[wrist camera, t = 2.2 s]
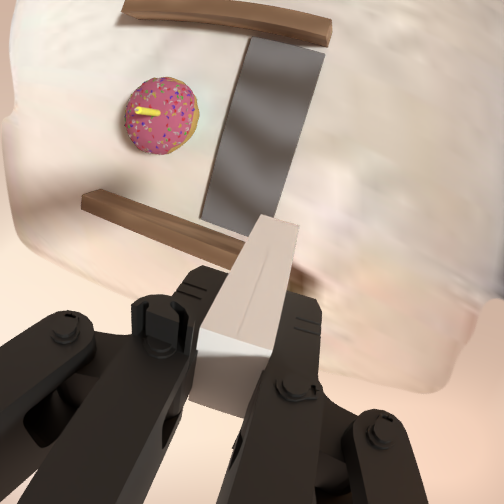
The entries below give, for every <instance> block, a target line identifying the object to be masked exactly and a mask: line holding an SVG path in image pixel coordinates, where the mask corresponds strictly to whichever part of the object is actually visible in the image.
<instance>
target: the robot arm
mask: <svg viewBox="0 0 504 504" xmlns="http://www.w3.org/2000/svg"><path fill="white" fill-rule="evenodd" d="M298 231H299V225H295V224H292V223H289V222H286V221H282V220H279V219H276V218H272V217H269V216H266V215H262V214H261V215H260V217H259V218H258V220H257V222H256V224H255V226H254V228H253V230H252V231H251V233H250V235H249V237H248V239H247V241H246V242H245V244H244V246H243V248H242V250H241V252H240V254H239V255H238V257H237V259H236V261H235V263H234V265H233V266H232V268H231V270H230V272H229V274H228V273H225V272H222V271H219V270H216V269H213V268H210V267H207V266H203V265H202V266H200V267H198V268H196V269H194V270H192V271H190V272H189V273H188V275H187V276H186V277H185V279H184V280H183V282H182V284H180V286H179V287H178V288H177V290H176V292H174V294H173V295H172V296H168V295H163V294H158V295H148V296H145V297H141V298H139V299H138V300H136V301H135V302H134V303H133V304H131V321H132V334H130V335H115V334H109V333H102V332H97V331H94V328H93V324H92V322H91V321H90V320H89V319H88V317H87V316H85V315H83V314H81V313H79V312H75V311H69V310H67V311H58V312H56V313H53V314H51V315H49V316H47V317H46V318H44V319H42V320H41V321H39V322H38V323H36V324H34V325H33V326H31V327H30V328H28V329H27V330H25V331H23V332H22V333H20V334H19V335H17V336H16V337H14V338H13V339H11V340H10V341H8V342H7V343H5V344H4V345H2V346H1V347H0V502H1V501H2V500H3V499H4V498H5V497H7V496H8V495H9V494H10V493H11V492H12V491H13V490H15V489H16V488H17V487H18V486H19V485H20V484H21V483H23V482H24V481H25V480H26V479H27V478H28V477H29V476H31V475H32V474H33V473H34V472H35V471H36V470H37V469H38V468H39V469H38V470H37V472H36V474H35V475H34V477H33V478H32V480H31V481H30V483H29V485H28V486H27V488H26V490H25V491H24V493H23V494H22V496H21V498H20V499H19V501H18V503H17V504H143V502H144V500H145V498H146V496H147V493H148V491H149V489H150V487H151V484H152V482H153V480H154V478H155V475H156V473H157V471H158V469H159V467H160V464H161V462H162V460H163V458H164V455H165V453H166V451H167V449H168V447H169V444H170V442H171V440H172V438H173V435H174V433H175V431H176V429H177V426H178V424H179V422H180V420H181V417H182V411H183V406H184V404H185V402H186V400H187V397H188V395H189V399H188V400H189V401H192V402H195V403H198V404H200V405H203V406H206V407H209V408H212V409H215V410H218V411H221V412H224V413H227V414H231V415H234V416H237V417H240V418H244V421H243V424H242V427H241V429H240V432H239V434H238V436H237V438H236V440H235V443H234V445H233V447H232V449H233V452H232V455H231V458H230V462H229V465H228V468H227V471H226V474H225V478H224V481H223V484H222V487H221V490H220V493H219V496H218V499H217V502H216V504H428V500H427V496H426V493H425V490H424V486H423V482H422V479H421V476H420V473H419V469H418V466H417V463H416V460H415V457H414V453H413V450H412V447H411V444H410V441H409V438H408V435H407V432H406V430H405V428H404V427H403V424H402V423H401V422H400V421H399V420H398V419H397V418H396V417H395V416H394V415H392V414H390V413H388V412H386V411H384V410H377V409H371V410H367V411H364V412H363V413H361V414H360V415H359V416H357V415H355V414H353V413H351V412H349V411H347V410H345V409H343V408H341V407H339V406H338V405H337V404H335V403H334V402H332V401H331V400H330V399H329V398H328V397H327V396H326V395H325V394H324V392H323V387H322V385H321V384H320V382H319V380H318V368H319V354H320V339H321V336H320V335H321V322H322V311H321V309H320V307H319V304H318V302H317V300H316V299H313V298H310V297H307V296H303V295H300V294H297V293H293V292H290V291H287V290H286V289H287V285H288V280H289V275H290V271H291V266H292V261H293V256H294V251H295V246H296V241H297V236H298Z"/></svg>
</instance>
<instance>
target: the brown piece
mask: <svg viewBox="0 0 504 504" xmlns="http://www.w3.org/2000/svg"><path fill="white" fill-rule="evenodd" d="M121 12H122V13H125V14H127V15H129V16H132V17H134V18H137V19H139V20H173V21H188V22H200V23H209V24H218V25H226V26H233V27H239V28H245V29H251V30H257V31H262V32H267V33H272V34H277V35H282V36H286V37H290V38H295V39H299V40H303V41H307V42H310V43H314V44H318V45H321V46H325V47H328V45H329V42H330V38H331V35H332V20H331V19H328V18H324V17H320V16H316V15H312V14H308V13H304V12H299V11H295V10H290V9H285V8H280V7H275V6H269V5H263V4H256V3H250V2H242V1H234V0H125V2H124V5H123V8H122V10H121ZM324 58H325V54H324V53H320V52H317V51H313V50H309V49H306V48H302V47H298V46H294V45H290V44H286V43H281V42H277V41H272V40H268V39H263V38H258V37H252V38H251V41H250V44H249V48H248V51H247V54H246V57H245V60H244V63H243V67H242V70H241V73H240V76H239V80H238V83H237V86H236V90H235V93H234V96H233V100H232V103H231V107H230V110H229V114H228V117H227V121H226V124H225V128H224V131H223V135H222V139H221V142H220V146H219V150H218V154H217V157H216V161H215V165H214V169H213V173H212V177H211V181H210V185H209V189H208V193H207V197H206V201H205V205H204V209H203V213H202V217H201V220H204V221H206V222H209V223H212V224H215V225H217V226H220V227H223V228H226V229H228V230H231V231H234V232H236V233H239V234H242V235H244V236H247V237H249V235H250V233H251V231H252V230H253V228H254V226H255V224H256V222H257V220H258V218H259V217H260V215H261V214H262V215H266V216H269V217H272V218H274V215H275V212H276V209H277V206H278V203H279V200H280V197H281V193H282V190H283V187H284V184H285V181H286V178H287V175H288V172H289V169H290V165H291V162H292V159H293V156H294V153H295V150H296V147H297V144H298V140H299V137H300V134H301V131H302V128H303V125H304V122H305V118H306V115H307V112H308V109H309V106H310V103H311V99H312V96H313V93H314V90H315V87H316V83H317V80H318V77H319V74H320V71H321V67H322V64H323V61H324ZM81 209H82V210H84V211H86V212H89V213H91V214H93V215H96V216H98V217H100V218H103V219H105V220H108V221H110V222H112V223H115V224H117V225H119V226H122V227H124V228H127V229H129V230H131V231H134V232H136V233H139V234H141V235H144V236H146V237H148V238H151V239H153V240H156V241H158V242H161V243H163V244H166V245H168V246H170V247H173V248H175V249H178V250H180V251H183V252H185V253H188V254H190V255H193V256H195V257H198V258H200V259H203V260H205V261H208V262H210V263H213V264H215V265H218V266H221V267H223V268H226V269H228V270H231V268H232V266H233V265H234V263H235V261H236V259H237V257H238V255H239V254H240V252H241V250H242V248H243V246H244V244H245V242H243V241H241V240H238V239H235V238H233V237H230V236H227V235H225V234H222V233H219V232H217V231H214V230H211V229H209V228H206V227H203V226H200V225H198V224H195V223H192V222H190V221H187V220H184V219H182V218H179V217H176V216H173V215H171V214H168V213H165V212H163V211H160V210H157V209H154V208H152V207H149V206H146V205H144V204H141V203H138V202H135V201H133V200H130V199H127V198H125V197H122V196H119V195H116V194H114V193H111V192H108V191H105V190H103V189H99V190H96V191H93V192H90V193H87V194H84V195H82V202H81Z"/></svg>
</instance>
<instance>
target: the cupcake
mask: <svg viewBox="0 0 504 504" xmlns="http://www.w3.org/2000/svg"><path fill="white" fill-rule="evenodd" d="M128 101H129V102H128V105H127V109H126V110H125V122H126V124H125V126H126V128H127V131H128V136H129V137H130V138H131V140H132V141H133V143H134V144H135V145H136V146H137V148H138V149H140V150H142V151H144V152H148V153H149V154H151V153H153V154H159V155H164V154H169V153H171V152H173V151H174V150H176V149H178V148H179V147H181V146H182V145H183V144H184V143H186V142H187V141H188V140H189V139H190V137H191V136H192V135H193V133H194V132H195V130H196V127H197V122H198V119H199V109H198V106H197V99H196V97H195V95H194V94H193V92H192V90H191V89H190V88H189V87H188V86H187V85H186V84H185V83H184V82H182V81H180V80H177V79H174V78H171V77H161V78H152V79H150V80H148V81H146V82H145V83H142V85H141V86H140V87H138V88H137V89H136V90H135V91H134V92H133V94H131V98H130V99H129V100H128Z"/></svg>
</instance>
